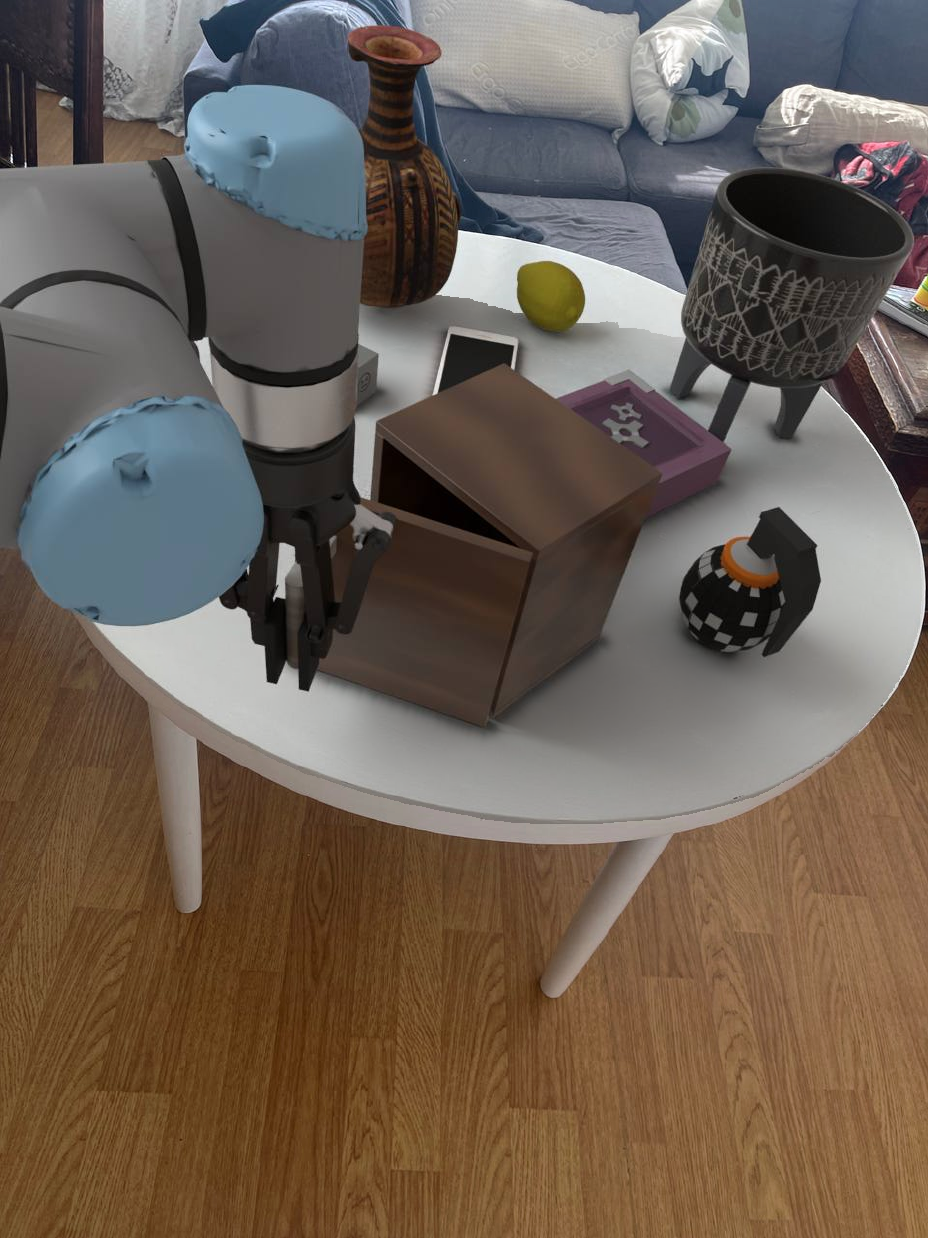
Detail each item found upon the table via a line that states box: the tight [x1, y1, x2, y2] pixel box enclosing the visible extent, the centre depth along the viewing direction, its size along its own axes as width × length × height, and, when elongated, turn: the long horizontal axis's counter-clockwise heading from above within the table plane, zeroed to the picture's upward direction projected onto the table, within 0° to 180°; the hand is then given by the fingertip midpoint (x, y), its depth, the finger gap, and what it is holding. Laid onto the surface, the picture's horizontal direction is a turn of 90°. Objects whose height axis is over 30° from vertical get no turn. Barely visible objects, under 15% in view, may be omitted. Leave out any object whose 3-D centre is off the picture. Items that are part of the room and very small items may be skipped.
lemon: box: [516, 260, 586, 333], centre depth 115 cm, size 11×8×8 cm
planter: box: [668, 166, 915, 443], centre depth 98 cm, size 20×20×26 cm
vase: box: [346, 24, 462, 309], centre depth 104 cm, size 21×18×30 cm
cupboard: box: [369, 364, 663, 719], centre depth 75 cm, size 14×17×20 cm
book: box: [555, 369, 733, 519], centre depth 97 cm, size 25×16×5 cm, turn 128°
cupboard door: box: [284, 496, 533, 728], centre depth 67 cm, size 7×17×20 cm, turn 72°
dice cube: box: [356, 343, 380, 407], centre depth 101 cm, size 5×5×5 cm
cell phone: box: [432, 325, 519, 396], centre depth 107 cm, size 9×18×1 cm, turn 173°
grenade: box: [678, 506, 822, 658], centre depth 80 cm, size 11×10×15 cm
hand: (293, 672), depth 67 cm, fingers closed on cupboard door, 2 cm apart
